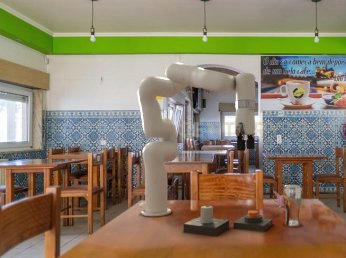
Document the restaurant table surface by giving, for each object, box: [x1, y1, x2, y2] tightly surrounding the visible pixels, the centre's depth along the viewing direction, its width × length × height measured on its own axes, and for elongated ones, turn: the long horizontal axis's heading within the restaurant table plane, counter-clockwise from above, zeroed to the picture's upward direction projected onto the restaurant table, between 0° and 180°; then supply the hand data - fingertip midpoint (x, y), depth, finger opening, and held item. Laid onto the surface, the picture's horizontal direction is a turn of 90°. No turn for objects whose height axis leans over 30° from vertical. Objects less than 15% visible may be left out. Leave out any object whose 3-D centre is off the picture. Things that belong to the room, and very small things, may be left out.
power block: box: [233, 213, 273, 233], centre depth 134 cm, size 12×10×4 cm
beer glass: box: [282, 184, 302, 228], centre depth 136 cm, size 7×7×15 cm
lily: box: [273, 190, 285, 216], centre depth 153 cm, size 12×12×10 cm
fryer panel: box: [183, 216, 230, 237], centre depth 130 cm, size 13×11×3 cm
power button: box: [247, 210, 260, 218], centre depth 134 cm, size 4×4×2 cm
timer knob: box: [200, 204, 214, 223], centre depth 130 cm, size 4×4×6 cm
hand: (246, 149), depth 137 cm, fingers open, 9 cm apart
